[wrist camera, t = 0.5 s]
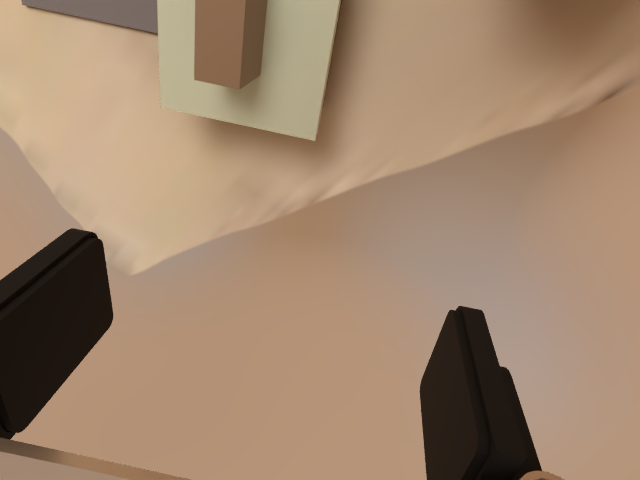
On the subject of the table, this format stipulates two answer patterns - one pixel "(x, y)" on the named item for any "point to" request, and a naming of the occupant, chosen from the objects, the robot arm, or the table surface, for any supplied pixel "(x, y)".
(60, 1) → the mat
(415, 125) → the table surface
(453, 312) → the robot arm
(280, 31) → the lid
